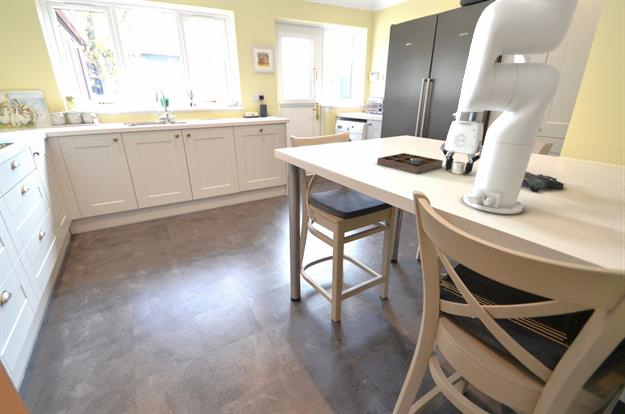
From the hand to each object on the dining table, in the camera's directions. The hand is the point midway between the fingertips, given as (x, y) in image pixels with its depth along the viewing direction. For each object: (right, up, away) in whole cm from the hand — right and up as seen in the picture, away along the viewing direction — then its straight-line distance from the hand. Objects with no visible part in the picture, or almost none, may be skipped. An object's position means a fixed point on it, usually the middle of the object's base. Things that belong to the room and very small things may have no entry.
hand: (457, 171), depth 99 cm
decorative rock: (+17, -5, -11) cm, 21 cm away
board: (-14, +3, +9) cm, 17 cm away
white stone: (0, -1, 0) cm, 1 cm away
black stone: (-15, +1, +1) cm, 15 cm away
